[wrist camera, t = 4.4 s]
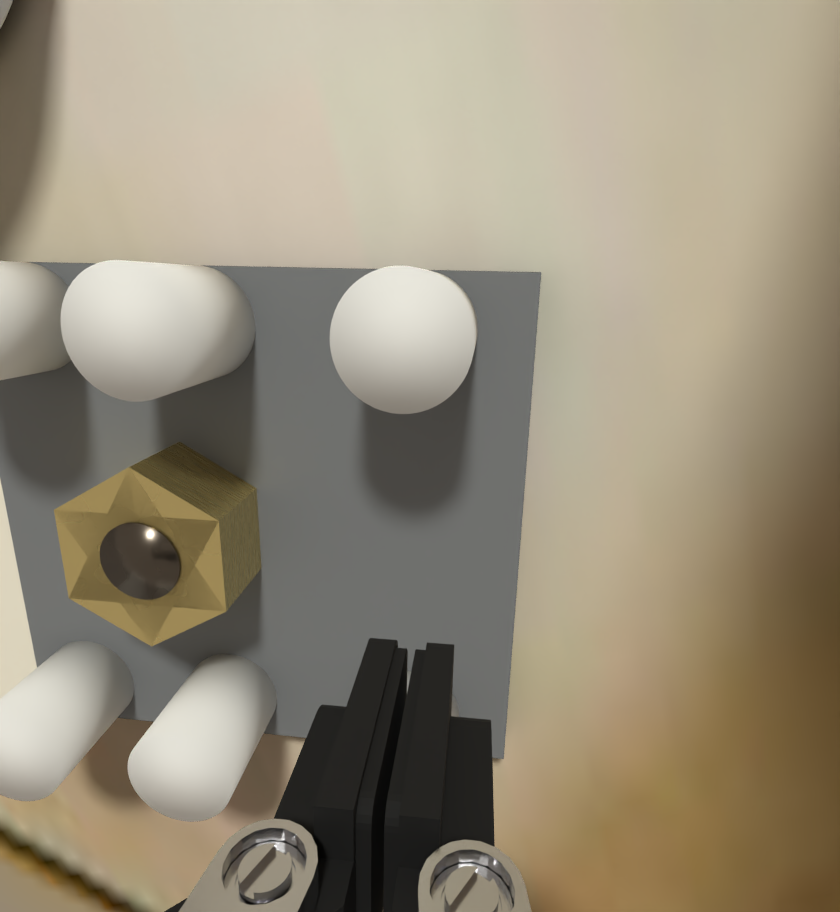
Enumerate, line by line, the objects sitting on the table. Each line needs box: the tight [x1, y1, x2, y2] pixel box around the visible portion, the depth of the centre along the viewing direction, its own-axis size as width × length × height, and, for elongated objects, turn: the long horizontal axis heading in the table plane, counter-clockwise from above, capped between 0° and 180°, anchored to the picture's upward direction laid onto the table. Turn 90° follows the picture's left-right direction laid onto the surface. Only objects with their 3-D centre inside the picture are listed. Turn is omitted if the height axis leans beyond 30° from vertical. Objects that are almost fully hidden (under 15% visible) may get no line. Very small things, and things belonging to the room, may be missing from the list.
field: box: [0, 260, 541, 822], centre depth 17 cm, size 22×15×4 cm
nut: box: [54, 442, 262, 646], centre depth 16 cm, size 4×5×3 cm
